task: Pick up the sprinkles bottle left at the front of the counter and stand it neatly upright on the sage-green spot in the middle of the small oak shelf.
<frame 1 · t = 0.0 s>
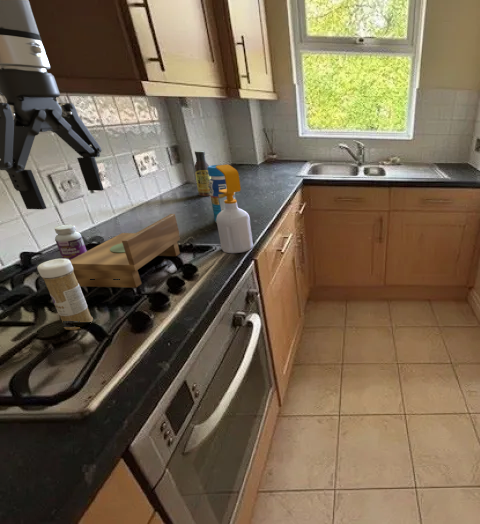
hand: (69, 198, 63), 23 cm above the worktop, tool pointing down, fingers open, 13 cm apart
pill bottle: (77, 260, 91), on the worktop
shelf: (133, 268, 87), on the worktop
sauce bottle: (206, 195, 157), on the worktop
soap bottle: (237, 248, 101), on the worktop
blue canister: (227, 221, 123), on the worktop
sprinkles bottle: (79, 325, 65), on the worktop
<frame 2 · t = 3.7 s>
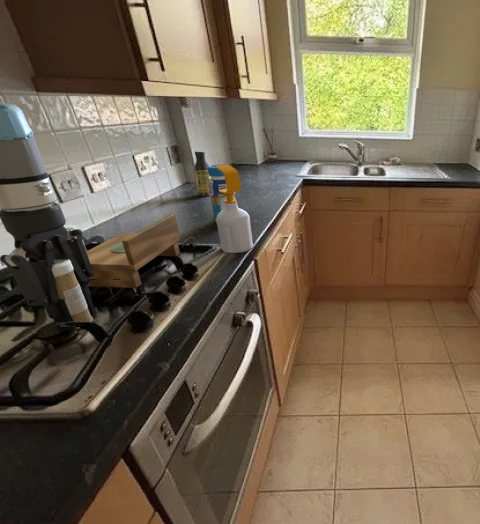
hand: (78, 321, 65), 1 cm above the worktop, tool pointing down, fingers closed on sprinkles bottle, 4 cm apart
sprinkles bottle: (79, 325, 65), on the worktop, touching gripper
everything else where it was.
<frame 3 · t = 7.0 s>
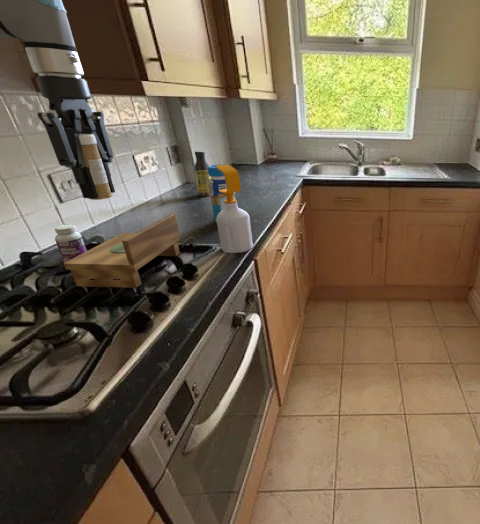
hand: (99, 194, 74), 21 cm above the worktop, tool pointing down, fingers closed on sprinkles bottle, 4 cm apart
sprinkles bottle: (101, 198, 75), point 20 cm above the worktop, touching gripper
everything else where it was.
when the fingers open (7 cm above the worktop, at t = 10.7 s): sprinkles bottle stays where it is, resting on shelf.
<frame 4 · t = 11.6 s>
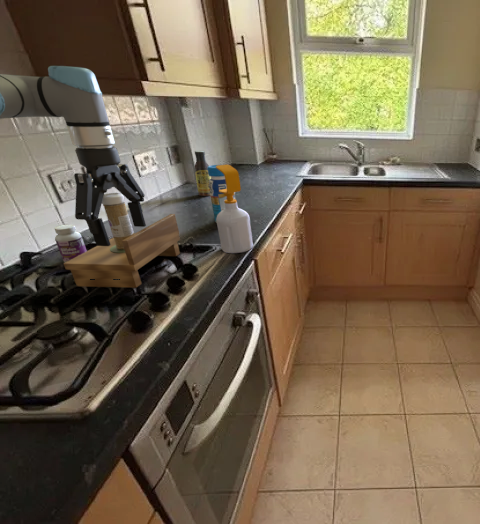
hand: (123, 235, 83), 9 cm above the worktop, tool pointing down, fingers open, 13 cm apart
sprinkles bottle: (127, 247, 85), point 6 cm above the worktop, touching shelf
everything else where it was.
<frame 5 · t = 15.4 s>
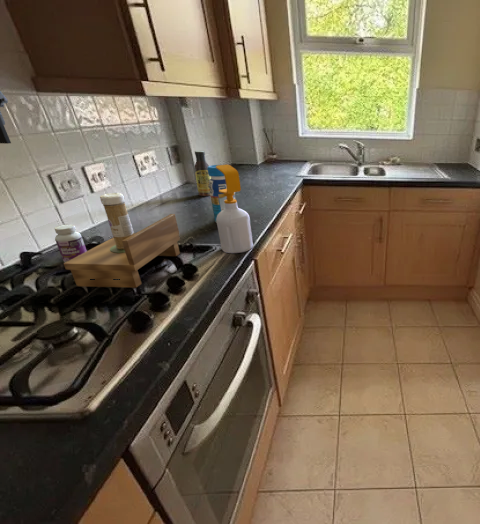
nothing on the worktop moved.
at the end: sprinkles bottle 0.1 cm off-centre on the shelf, point 6.0 cm above the shelf's base; sprinkles bottle tilted 0°; the gripper is holding nothing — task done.
